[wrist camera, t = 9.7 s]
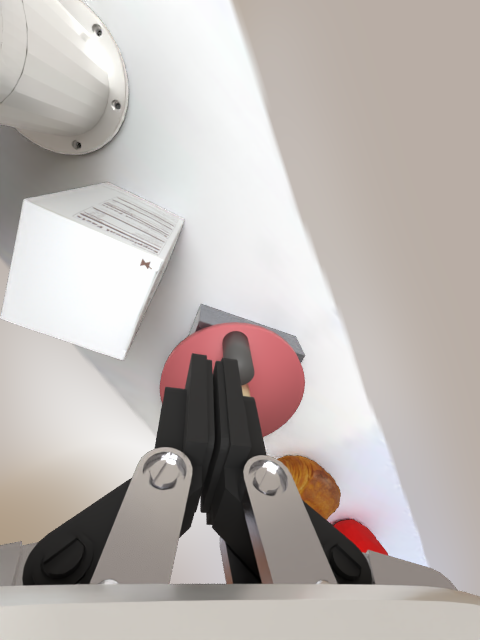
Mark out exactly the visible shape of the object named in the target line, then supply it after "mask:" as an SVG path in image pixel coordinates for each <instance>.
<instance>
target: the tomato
mask: <svg viewBox="0 0 480 640" xmlns="http://www.w3.org/2000/svg"><path fill="white" fill-rule="evenodd" d="M334 527H335V528H336V529H338V530H339V531H340V532H341V533H342V534H343V535H345V536H346V537H347V538H348V539H349V540H351V541H352V542H353V543H354V544H355V545H356V546H357V547H358V548H359V549H360V550H361V552H363V553H366V552H367V550H371V551H374V552H378V553H381V554H384V555H388V553H387V552H386V551H385V549H384V548H383V547H382V545H381V544H380V543H379V541H378V540H376V537H375V536H374V535H373V533H372V532H371V531H370V530H369V529H368V528H367V527H365V526H363V525H362V524H360V523H358V522H357V521H355V520H343V521H340V522H337V523H336V524H335V525H334Z"/></svg>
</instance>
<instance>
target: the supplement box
mask: <svg viewBox="0 0 480 640" xmlns="http://www.w3.org/2000/svg"><path fill="white" fill-rule="evenodd" d="M183 223H184V219H183V218H181V217H179V216H177V215H175V214H173V213H171V212H169V211H167V210H165V209H163V208H161V207H159V206H157V205H155V204H153V203H151V202H149V201H147V200H145V199H143V198H141V197H139V196H137V195H135V194H132V193H130V192H128V191H126V190H124V189H122V188H120V187H118V186H116V185H113V184H111V183H109V182H105V183H100V184H95V185H90V186H86V187H80V188H76V189H71V190H66V191H61V192H56V193H51V194H46V195H41V196H36V197H31V198H26V199H23V203H22V209H21V214H20V219H19V224H18V230H17V235H16V240H15V245H14V251H13V256H12V261H11V266H10V271H9V276H8V281H7V287H6V292H5V296H4V301H3V307H2V311H1V315H0V319H2V320H5V321H7V322H10V323H13V324H16V325H19V326H21V327H24V328H27V329H30V330H33V331H36V332H40V333H43V334H45V335H48V336H51V337H54V338H57V339H60V340H63V341H66V342H69V343H72V344H75V345H78V346H80V347H83V348H86V349H89V350H92V351H95V352H98V353H101V354H104V355H107V356H110V357H113V358H116V359H119V360H124V359H125V357H126V355H127V353H128V351H129V349H130V346H131V344H132V342H133V340H134V338H135V335H136V333H137V331H138V329H139V326H140V324H141V322H142V319H143V317H144V314H145V312H146V310H147V308H148V306H149V304H150V302H151V300H152V298H153V295H154V293H155V291H156V289H157V287H158V285H159V283H160V281H161V278H162V276H163V274H164V271H165V269H166V267H167V264H168V262H169V259H170V257H171V254H172V252H173V250H174V247H175V245H176V242H177V239H178V237H179V234H180V232H181V229H182V226H183Z"/></svg>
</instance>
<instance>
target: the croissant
mask: <svg viewBox="0 0 480 640" xmlns="http://www.w3.org/2000/svg"><path fill="white" fill-rule="evenodd" d="M277 460H279V461H280V462H282V463H283V464H284V465H285V466H286V467H287V468H288V470H289V472H290V473H291V475H292V477H293V480H294V482H295V485H296V487H297V489H298V492H299V494H300V496H301V499H302V500H303V501H304V502H306V503H307V504H308V505H309V506H310V507H311V508H313V509H314V510H315V511H316V512H317V513H319V514H320V515H321V516H322V517H323V518H324V519H326V520H327V519H328V517H329V516H330V515H331V514H332V513H333V512H335V510H336V509H337V508H338V506H339V502H340V497H341V493H340V489H339V487H338V486H337V485H336V483H335V480H334V479H333V478H332V476H331V475H330V474H329V473H327V472H326V471H325V470H324V469H323V468H322V467H321V466H319V465H318V464H317V463H316V462H314V461H312V460H310V459H308V458H306V457H302V456H284V457H282V458H279V459H277Z"/></svg>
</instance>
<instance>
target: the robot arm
mask: <svg viewBox="0 0 480 640" xmlns="http://www.w3.org/2000/svg"><path fill="white" fill-rule="evenodd" d="M98 31H102V34H101V36H98ZM128 95H129V90H128V77H127V73H126V69H125V64H124V61H123V58H122V56H121V53H120V51H119V48H118V46H117V44H116V42H115V40H114V39H113V37H112V35H111V33H110V32H109V30H108V29H107V27H106V26H105V25H104V23H103V22H102V21H101V19H100V18H99V17H98V16H97V15H96V14H95V13H94V12H93V11H92V10H91V9H90V7H89V6H87V5H86V4H85V3H83V2H82V1H81V0H0V125H5V126H11V127H14V128H15V129H16V130H17V131H18V132H19V133H20V134H22V135H23V136H24V137H26V138H27V139H28V140H30V141H31V142H33V143H34V144H36V145H38V146H40V147H42V148H44V149H47V150H50V151H53V152H56V153H61V154H70V155H80V154H85V153H90V152H93V151H95V150H97V149H100V148H102V147H103V146H104V145H106V144H107V143H108V142H109V141H111V140H112V138H113V137H114V136H115V135H116V133H117V132H118V131H119V129H120V127H121V125H122V123H123V121H124V118H125V114H126V111H127V106H128ZM116 104H120V109H117V108H116ZM78 143H81V148H79V147H78ZM200 496H201V512H202V513H206V515H207V525H212V528H213V529H214V530H215V531H216V532H217V533H218V535H219V536H220V550H221V555H222V561H223V566H224V573H225V578H226V584H169V583H170V577H171V573H172V569H173V564H174V559H175V554H176V549H177V545H178V540H179V538H180V537H181V536H182V535H183V534H184V533H185V532H186V531H187V530H188V529H189V528H190V527H191V523H192V520H193V516H194V513H195V512H196V510H197V506H198V503H199V499H200ZM0 640H480V597H479V596H476V595H473V594H470V593H466V592H462V591H458V590H457V589H456V587H455V586H454V585H453V584H452V583H451V581H450V580H448V579H447V578H446V577H445V576H444V575H442V574H441V573H440V572H438V571H436V570H434V569H432V568H428V567H425V566H422V565H418V564H415V563H411V562H408V561H405V560H401V559H398V558H395V557H391V556H388V555H384V554H381V553H378V552H374V551H371V550H367V552H366V553H363V552H361V550H360V549H359V548H358V547H357V546H356V545H355V544H354V543H353V542H352V541H351V540H349V539H348V538H347V537H346V536H345V535H343V534H342V533H341V532H340V531H339V530H338V529H336V528H335V527H334V526H333V525H332V524H330V523H329V522H328V521H327V520H326V519H324V518H323V517H322V516H321V515H320V514H319V513H317V512H316V511H315V510H314V509H313V508H311V507H310V506H309V505H308V504H307V503H306V502H304V501H303V500H302V499H301V496H300V494H299V492H298V489H297V487H296V485H295V482H294V480H293V477H292V475H291V473H290V472H289V470H288V468H287V467H286V466H285V465H284V464H283V463H282V462H280V461H279V460H277V459H275V458H273V457H270V456H267V455H266V451H265V446H264V441H263V436H262V431H261V426H260V421H259V417H258V412H257V407H256V402H255V399H254V397H248V396H243V392H242V386H241V380H240V373H239V367H238V361H237V359H229V358H222V359H221V361H216V362H215V366H214V370H213V371H212V360H208V359H207V355H201V354H194V353H192V355H191V360H190V365H189V370H188V375H187V380H186V385H185V389H181V388H173V387H165V391H164V397H163V403H162V409H161V415H160V421H159V426H158V432H157V438H156V444H155V449H154V450H151V451H149V452H148V453H146V454H145V455H144V456H143V457H142V458H141V460H140V461H139V463H138V465H137V467H136V470H135V473H134V475H133V477H132V478H131V479H129V480H128V481H126V482H125V483H123V484H122V485H120V486H119V487H117V488H116V489H114V490H113V491H111V492H110V493H108V494H107V495H105V496H104V497H102V498H101V499H99V500H98V501H96V502H95V503H93V504H92V505H91V506H89V507H88V508H86V509H85V510H83V511H82V512H80V513H79V514H77V515H76V516H74V517H73V518H71V519H70V520H68V521H67V522H65V523H64V524H62V525H61V526H59V527H58V528H56V529H55V530H53V531H52V532H50V533H49V534H48V535H46V536H45V537H44V538H43V539H42V540H41V541H39V542H37V543H33V544H27V545H23V546H22V542H21V541H20V542H15V543H10V544H5V545H0Z"/></svg>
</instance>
